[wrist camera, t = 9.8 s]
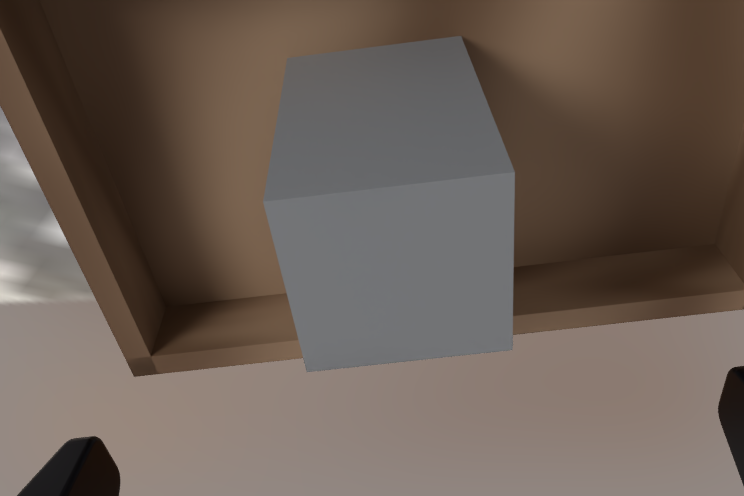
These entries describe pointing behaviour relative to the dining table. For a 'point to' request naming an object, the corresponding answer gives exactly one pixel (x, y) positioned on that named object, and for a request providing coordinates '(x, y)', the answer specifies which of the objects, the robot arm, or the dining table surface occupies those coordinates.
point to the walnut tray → (257, 128)
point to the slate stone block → (391, 206)
